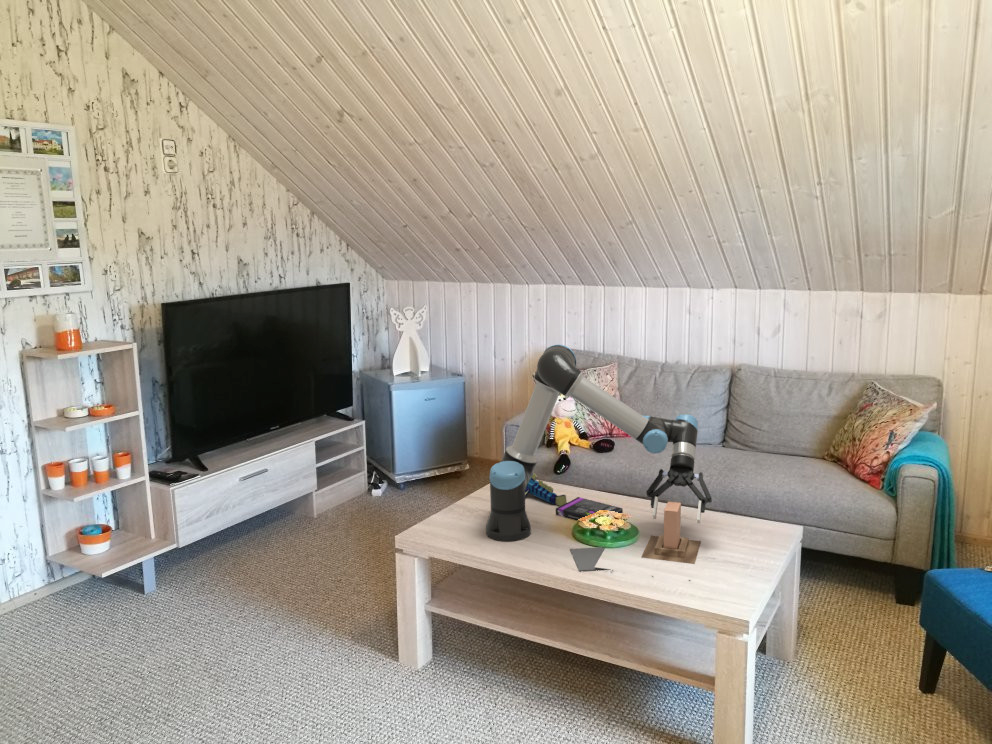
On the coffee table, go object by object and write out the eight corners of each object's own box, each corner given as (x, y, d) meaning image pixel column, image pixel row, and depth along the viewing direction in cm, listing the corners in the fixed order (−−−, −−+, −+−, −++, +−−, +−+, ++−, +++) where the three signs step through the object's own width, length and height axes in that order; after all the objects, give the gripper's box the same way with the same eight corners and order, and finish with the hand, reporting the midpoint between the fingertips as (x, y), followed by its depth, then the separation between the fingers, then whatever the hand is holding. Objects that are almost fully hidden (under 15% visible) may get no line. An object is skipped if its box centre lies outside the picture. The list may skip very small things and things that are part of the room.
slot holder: (641, 561, 245) (641, 551, 245) (650, 539, 262) (651, 529, 261) (694, 568, 240) (694, 557, 239) (701, 545, 257) (701, 535, 256)
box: (555, 517, 286) (601, 529, 273) (555, 507, 286) (601, 519, 273) (578, 505, 296) (623, 516, 284) (578, 496, 296) (623, 507, 283)
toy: (534, 487, 315) (535, 463, 313) (579, 508, 296) (580, 483, 294) (507, 495, 307) (508, 470, 304) (552, 517, 288) (553, 491, 286)
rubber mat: (579, 571, 240) (579, 570, 240) (570, 550, 255) (570, 548, 255) (631, 568, 241) (631, 567, 241) (619, 547, 257) (619, 546, 257)
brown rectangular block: (663, 553, 248) (664, 510, 245) (667, 543, 255) (668, 501, 252) (676, 554, 246) (677, 511, 244) (680, 544, 254) (680, 502, 251)
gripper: (722, 467, 260) (717, 528, 249) (645, 461, 268) (637, 520, 257) (722, 456, 254) (717, 518, 243) (643, 450, 262) (634, 510, 251)
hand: (676, 519), depth 250 cm, fingers open, 13 cm apart
